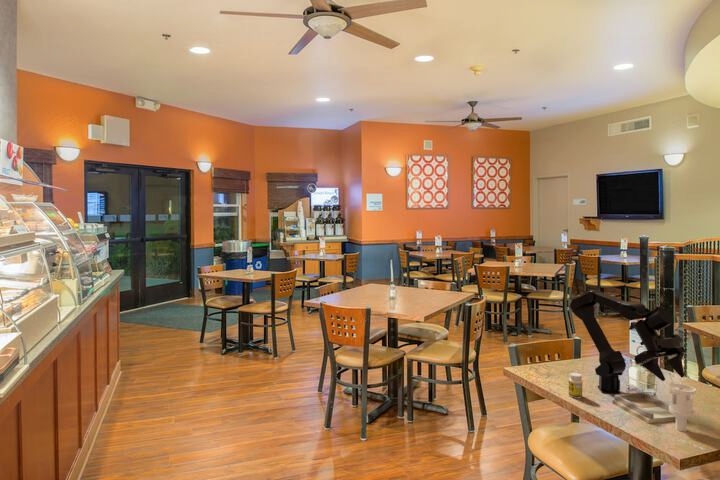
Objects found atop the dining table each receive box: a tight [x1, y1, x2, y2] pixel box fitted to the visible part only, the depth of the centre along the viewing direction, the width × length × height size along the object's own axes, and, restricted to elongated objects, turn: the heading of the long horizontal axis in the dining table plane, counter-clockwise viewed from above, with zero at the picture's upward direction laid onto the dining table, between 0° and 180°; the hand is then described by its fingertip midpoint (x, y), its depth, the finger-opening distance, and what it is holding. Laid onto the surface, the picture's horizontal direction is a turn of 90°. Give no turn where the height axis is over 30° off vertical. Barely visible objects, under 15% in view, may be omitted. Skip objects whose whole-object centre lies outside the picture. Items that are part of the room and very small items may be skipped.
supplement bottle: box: [568, 372, 583, 399], centre depth 186 cm, size 5×5×8 cm
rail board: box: [611, 391, 676, 424], centre depth 173 cm, size 17×14×3 cm
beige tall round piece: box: [669, 381, 697, 432], centre depth 158 cm, size 7×7×15 cm
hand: (673, 378), depth 167 cm, fingers open, 9 cm apart
